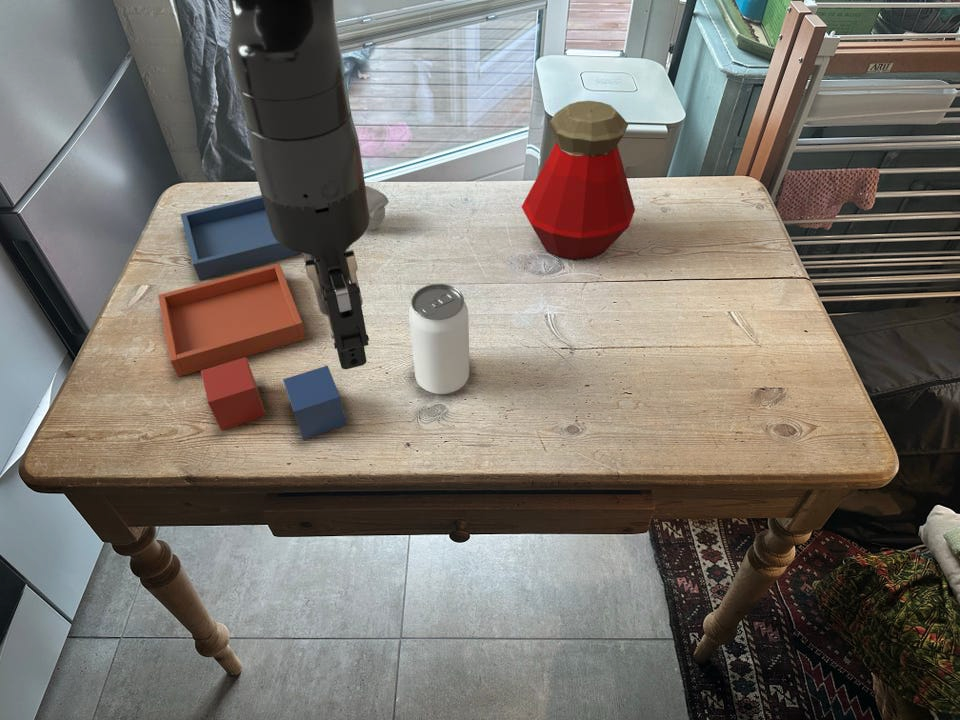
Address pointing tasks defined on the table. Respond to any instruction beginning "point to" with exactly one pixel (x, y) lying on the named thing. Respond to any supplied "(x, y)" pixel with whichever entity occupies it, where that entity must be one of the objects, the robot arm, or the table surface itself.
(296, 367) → the table surface
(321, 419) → the blue block
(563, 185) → the bottle
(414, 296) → the can
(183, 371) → the orange tray
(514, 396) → the table surface
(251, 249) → the blue tray
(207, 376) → the red block
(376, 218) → the frog figurine
